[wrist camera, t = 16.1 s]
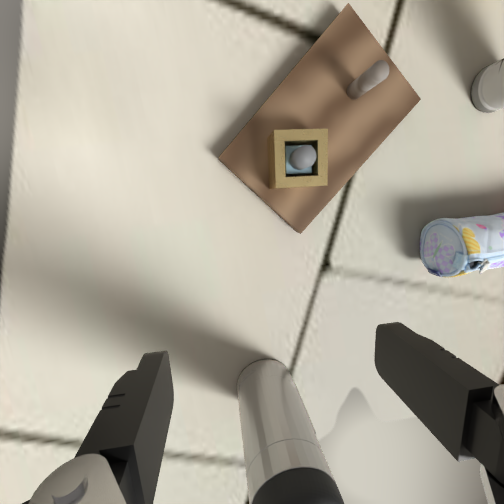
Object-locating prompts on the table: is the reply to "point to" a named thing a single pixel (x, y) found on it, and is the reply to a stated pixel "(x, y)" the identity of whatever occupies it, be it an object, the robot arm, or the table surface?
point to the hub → (299, 159)
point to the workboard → (325, 115)
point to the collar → (296, 138)
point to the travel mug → (489, 88)
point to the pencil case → (463, 245)
